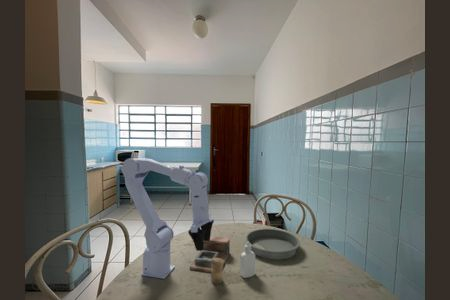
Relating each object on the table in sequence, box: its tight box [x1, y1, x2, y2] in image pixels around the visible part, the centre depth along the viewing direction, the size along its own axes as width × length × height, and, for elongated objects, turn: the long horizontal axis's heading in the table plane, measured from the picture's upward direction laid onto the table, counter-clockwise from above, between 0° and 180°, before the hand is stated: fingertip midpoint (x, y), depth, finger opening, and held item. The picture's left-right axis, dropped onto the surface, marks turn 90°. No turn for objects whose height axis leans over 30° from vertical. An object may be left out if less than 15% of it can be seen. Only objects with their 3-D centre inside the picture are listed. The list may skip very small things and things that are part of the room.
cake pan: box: [245, 228, 301, 260], centre depth 99 cm, size 25×25×4 cm
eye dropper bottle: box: [239, 241, 256, 279], centre depth 77 cm, size 4×6×12 cm
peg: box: [210, 258, 224, 285], centre depth 74 cm, size 4×4×7 cm
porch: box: [189, 236, 231, 273], centre depth 87 cm, size 12×16×6 cm
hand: (203, 245), depth 75 cm, fingers open, 7 cm apart
